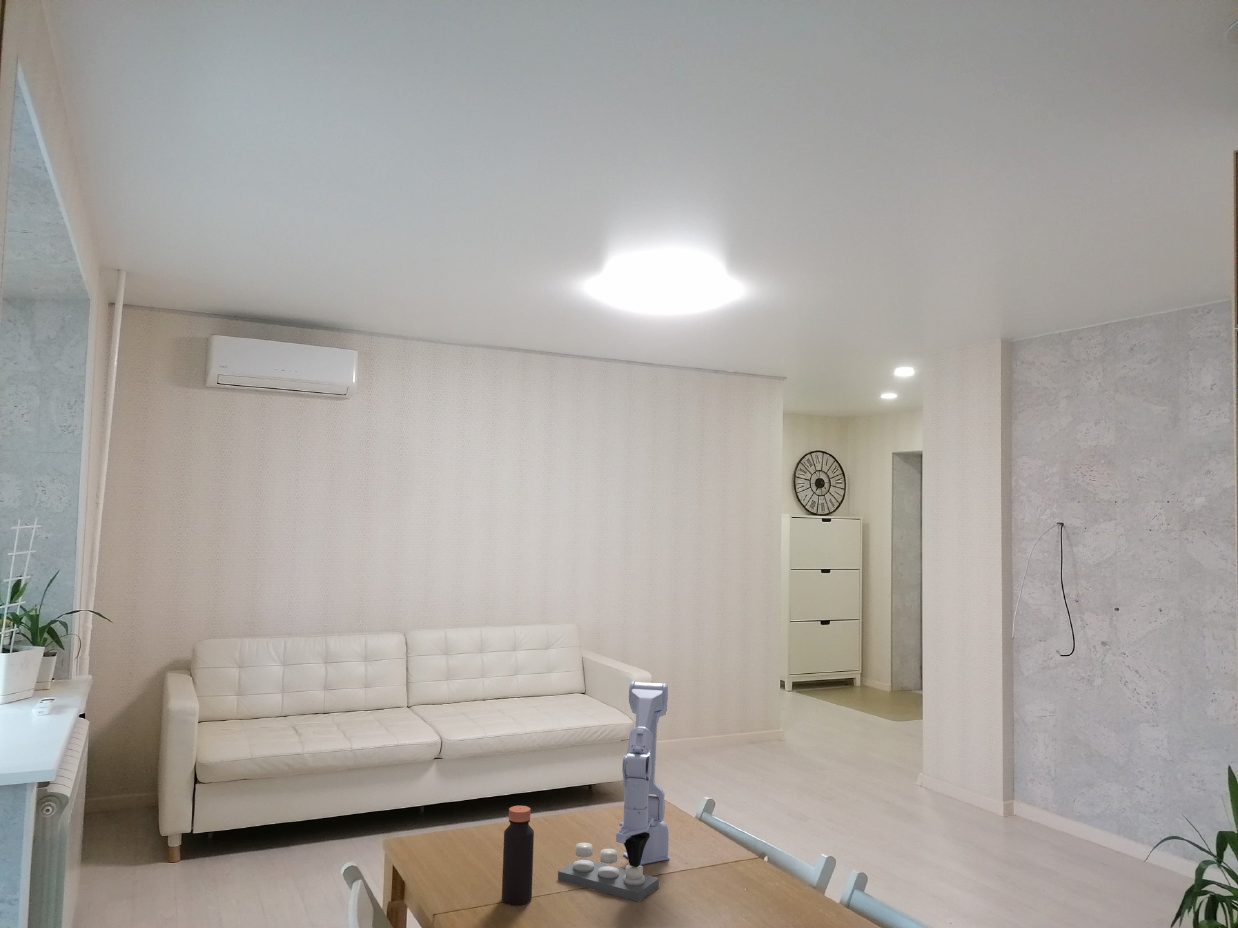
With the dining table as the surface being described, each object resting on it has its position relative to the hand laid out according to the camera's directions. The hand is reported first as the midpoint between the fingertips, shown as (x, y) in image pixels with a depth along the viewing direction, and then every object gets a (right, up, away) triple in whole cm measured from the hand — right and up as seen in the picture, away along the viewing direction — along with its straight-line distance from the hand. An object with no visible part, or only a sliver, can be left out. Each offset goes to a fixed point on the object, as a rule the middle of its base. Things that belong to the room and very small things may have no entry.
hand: (634, 865), depth 205 cm
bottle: (-27, -5, -7) cm, 28 cm away
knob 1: (-12, -1, +7) cm, 14 cm away
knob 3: (0, -2, 0) cm, 2 cm away
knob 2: (-6, 0, +3) cm, 7 cm away
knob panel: (-6, -6, +3) cm, 9 cm away
